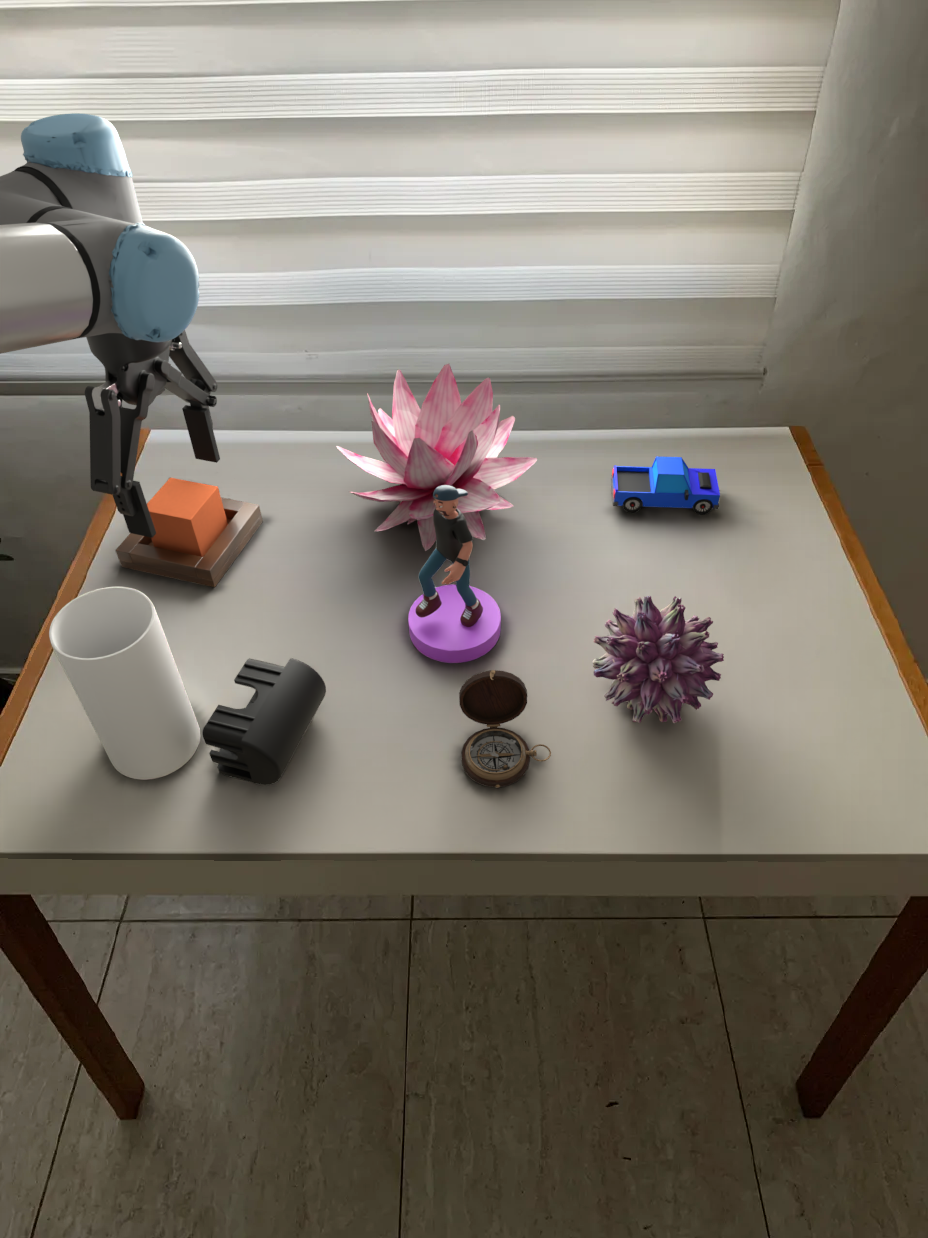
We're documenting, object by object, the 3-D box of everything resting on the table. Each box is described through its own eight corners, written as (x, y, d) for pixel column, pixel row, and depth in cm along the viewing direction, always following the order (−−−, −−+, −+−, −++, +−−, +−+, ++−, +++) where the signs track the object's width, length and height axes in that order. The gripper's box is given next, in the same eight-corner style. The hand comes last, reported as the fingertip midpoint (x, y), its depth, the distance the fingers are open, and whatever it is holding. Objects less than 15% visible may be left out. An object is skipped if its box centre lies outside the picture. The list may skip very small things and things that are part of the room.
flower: (689, 767, 83) (564, 725, 83) (702, 667, 90) (588, 629, 91) (741, 697, 74) (600, 651, 74) (750, 592, 81) (623, 551, 82)
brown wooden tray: (214, 587, 98) (209, 570, 96) (121, 567, 101) (114, 550, 99) (263, 521, 106) (259, 504, 104) (175, 503, 108) (170, 487, 107)
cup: (213, 713, 86) (171, 591, 75) (179, 785, 80) (128, 666, 69) (132, 702, 87) (78, 581, 76) (93, 773, 82) (28, 653, 70)
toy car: (717, 520, 104) (725, 485, 101) (612, 516, 105) (616, 482, 102) (711, 484, 109) (718, 450, 105) (610, 481, 110) (614, 447, 106)
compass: (462, 792, 79) (461, 741, 74) (459, 720, 85) (458, 668, 80) (554, 788, 79) (559, 737, 74) (545, 716, 85) (549, 664, 80)
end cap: (286, 797, 79) (273, 751, 74) (214, 778, 81) (196, 731, 76) (331, 710, 86) (322, 663, 81) (264, 694, 88) (250, 646, 83)
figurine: (391, 624, 94) (375, 484, 81) (461, 584, 98) (457, 444, 85) (447, 677, 89) (440, 536, 76) (519, 632, 93) (524, 491, 80)
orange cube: (202, 558, 100) (190, 519, 96) (154, 548, 101) (141, 509, 97) (228, 525, 104) (218, 486, 100) (182, 515, 105) (170, 477, 101)
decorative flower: (403, 439, 117) (394, 331, 106) (558, 483, 110) (565, 371, 99) (311, 539, 103) (290, 426, 93) (480, 595, 96) (479, 480, 86)
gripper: (76, 382, 74) (145, 575, 89) (223, 255, 90) (260, 436, 105) (-2, 368, 75) (79, 561, 90) (157, 246, 92) (203, 426, 107)
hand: (177, 494), depth 98 cm, fingers open, 13 cm apart
